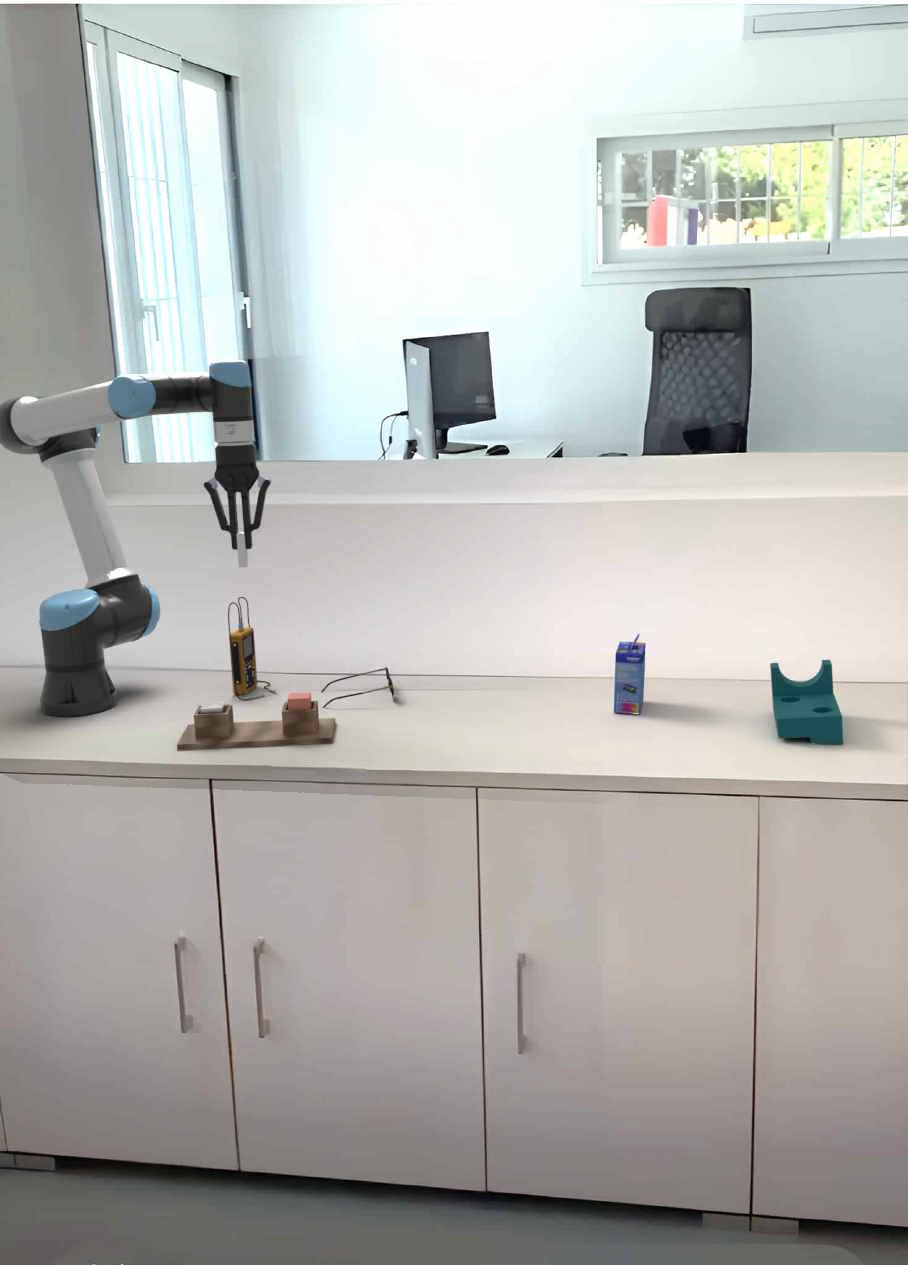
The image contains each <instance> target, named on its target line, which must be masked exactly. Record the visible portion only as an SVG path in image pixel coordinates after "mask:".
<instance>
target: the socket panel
mask: <svg viewBox="0 0 908 1265" xmlns="http://www.w3.org/2000/svg"><path fill="white" fill-rule="evenodd" d="M311 702H312V709H305V710H288V701H284V703H283V706H282V709H281V720H260V721H257V720H256V721H240V722H237V721H236V722H234V708H233V704H232V703H230V704H229V703H228V704H226V703H225V704H226V712H225V713H214V714H201V712H200V709H201V707H202V705H203V704H202V705H198V706H197V709H196V711H195V712H194V714H193V721H194V722H193V724H192V723H190V724H189V723H188V724H187V726H186V728H185V729H184V731H183V732H182V735H181V736H180V739H179V740H178V742H177V744H176V750H177V751H179V750H181V751H182V750H183V751H184V750H201V749H202V750H204V749H205V750H206V749H225V748H226V749H227V748H245V747H247V748H249V747H267V746H270V747H271V746H288V745H290V746H291V745H296V746H297V745H313V744H315V745H316V744H333V742H334V734H335V728H336V717H327V718H326V717H325V718H319V716H320V715H319V700H318V699H317V700H311Z"/></svg>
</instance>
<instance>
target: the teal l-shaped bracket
mask: <svg viewBox="0 0 908 1265" xmlns="http://www.w3.org/2000/svg"><path fill="white" fill-rule="evenodd" d="M779 665H780V664H779V663H778V662H772V663H771V662H770V664H769V667H770V680H771V681H770V682H771V684H770V685H771V694H772V695H771V696H772V697H771V698H772V709H773V716H774V722H775V727H776V728H775V729H776V732H777V737H778V738H777V739H796V738H797V739H798V738H808V739H809V738H810V739H809V741H810V742H811V743H813V744H812V745H840V744H844V731H843V729H844V728H843V714H842V712H841V710H840V707H839V704H838V702H837V699H836V696H835V694H834V680H833V677H834V676H833V663H832V661H831V659H822V660H821V666H820V668H819V670H818V672H817V673H816V675H814V676H813V677H811V678H810V679H808V680H804V681H796V680H791V679H790V678H788V677H787V676H785V675H784V674H783V673H782V671H781V669H780V666H779ZM811 743H810V744H811ZM814 743H815V744H814Z"/></svg>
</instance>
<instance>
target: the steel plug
mask: <svg viewBox="0 0 908 1265" xmlns="http://www.w3.org/2000/svg"><path fill="white" fill-rule="evenodd" d="M200 712H201V714H214V713H225V712H226V701H217V702H214V701H211V702H203V703H202V707H201V709H200Z"/></svg>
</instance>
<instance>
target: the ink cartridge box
mask: <svg viewBox="0 0 908 1265" xmlns="http://www.w3.org/2000/svg"><path fill="white" fill-rule="evenodd" d="M639 637H640V633H638V634H637V635H636V637H635V639H634V640H633V641H619V643H618V645H617V649H616V651H615V654H614V655H615V657H614V659H615V661H614V687H613V688H614V689H613V691H614V693H613V713H614V714H616V713H617V714H626V713H640V712H641V713H642V710H641V708H643V706H642V705H644V702H643V701H644V692H645V691H644V690H645V675H646V674H645V672H646V671H645V669H646V644H647V643H646V642H639V641H638V640H639ZM641 713H640V714H641Z"/></svg>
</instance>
